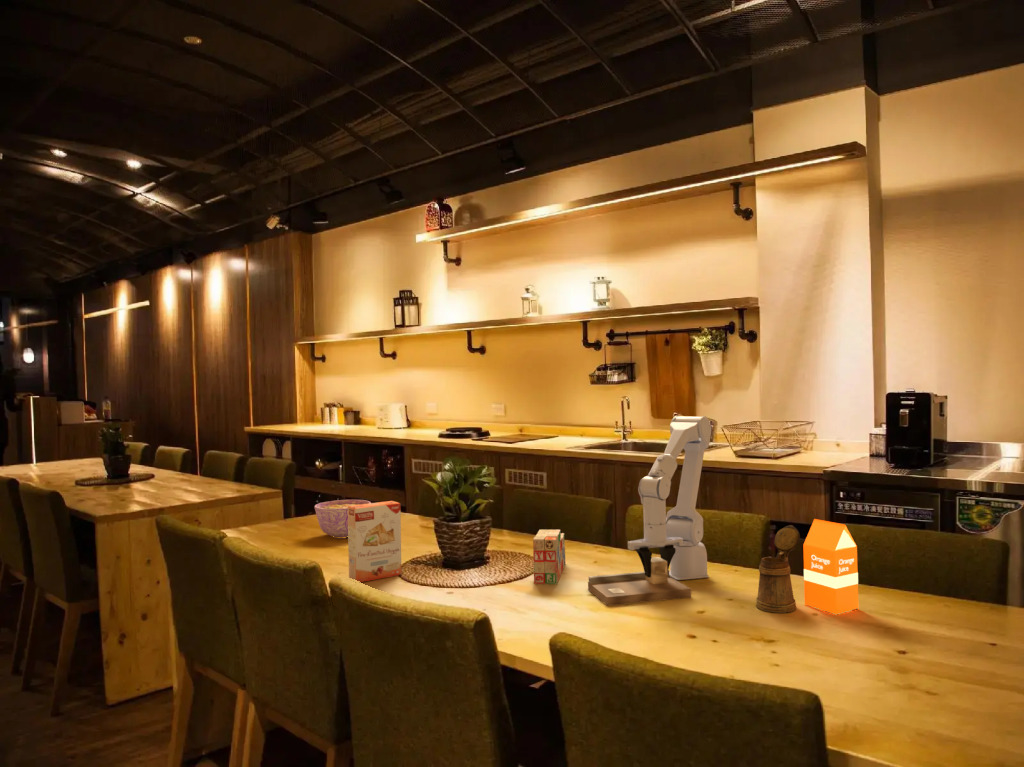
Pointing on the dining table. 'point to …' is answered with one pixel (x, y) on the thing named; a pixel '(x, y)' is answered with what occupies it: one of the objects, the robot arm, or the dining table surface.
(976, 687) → the dining table surface
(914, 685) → the dining table surface
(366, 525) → the cracker box
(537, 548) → the stack of blocks
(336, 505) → the bowl of food
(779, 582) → the wooden mug
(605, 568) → the dining table surface
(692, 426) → the robot arm
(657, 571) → the tan wooden block
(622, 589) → the walnut board
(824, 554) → the orange juice
